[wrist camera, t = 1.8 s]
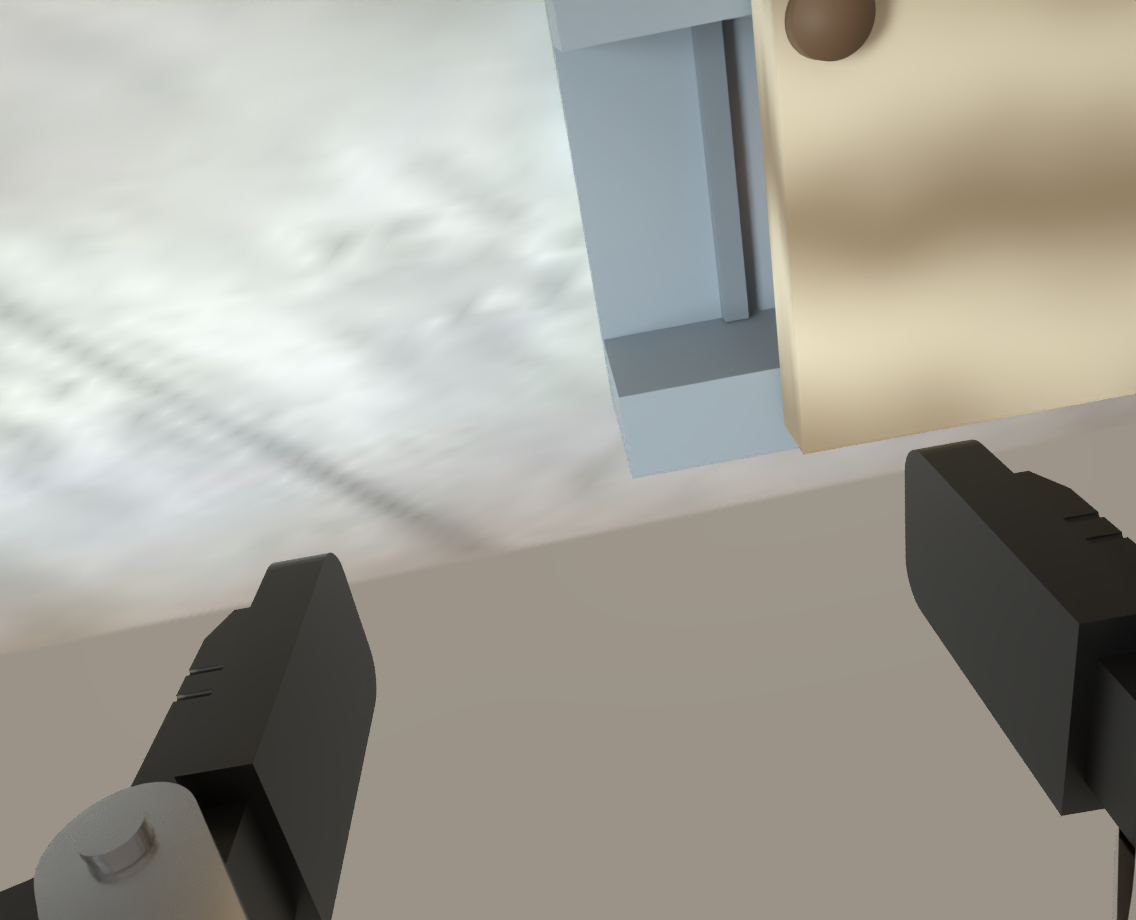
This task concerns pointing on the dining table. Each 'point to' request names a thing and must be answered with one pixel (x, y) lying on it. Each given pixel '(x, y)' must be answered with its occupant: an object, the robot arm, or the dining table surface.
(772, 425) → the stand
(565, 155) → the dining table surface
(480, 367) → the dining table surface
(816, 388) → the lid
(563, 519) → the dining table surface
